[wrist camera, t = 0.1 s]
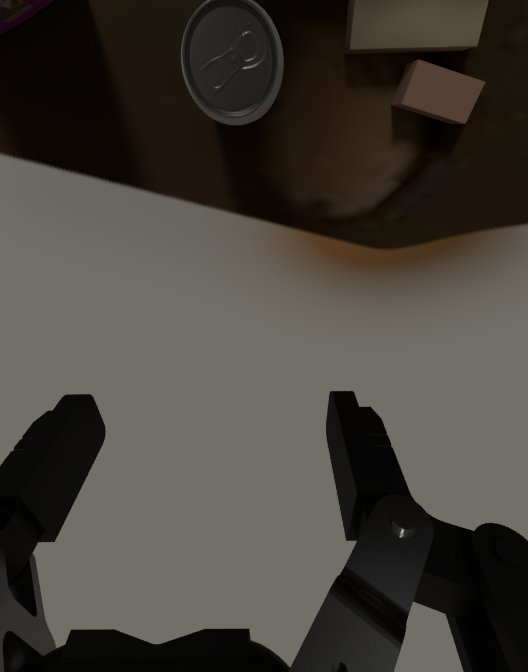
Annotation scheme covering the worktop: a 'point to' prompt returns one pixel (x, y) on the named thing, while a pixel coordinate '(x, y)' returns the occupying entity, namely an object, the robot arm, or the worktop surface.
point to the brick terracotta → (437, 92)
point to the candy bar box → (19, 12)
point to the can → (232, 60)
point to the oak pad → (413, 25)
